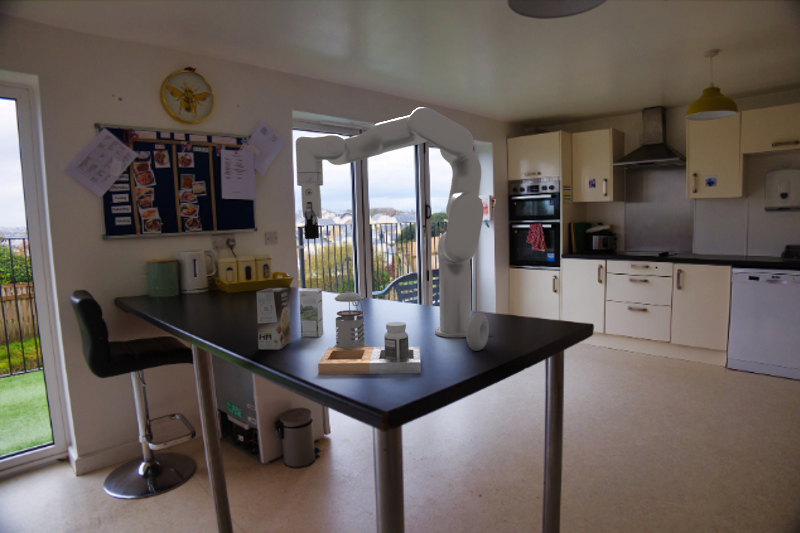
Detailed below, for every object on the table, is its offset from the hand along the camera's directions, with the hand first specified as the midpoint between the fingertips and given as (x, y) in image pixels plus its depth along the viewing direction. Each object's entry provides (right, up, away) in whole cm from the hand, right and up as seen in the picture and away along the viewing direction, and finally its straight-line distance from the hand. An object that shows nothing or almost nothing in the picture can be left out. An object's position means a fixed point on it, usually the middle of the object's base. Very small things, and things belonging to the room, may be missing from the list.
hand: (312, 238), depth 140 cm
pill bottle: (+25, -32, -27) cm, 49 cm away
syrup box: (-1, -30, +6) cm, 30 cm away
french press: (+13, -31, -9) cm, 34 cm away
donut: (+47, -31, -16) cm, 58 cm away
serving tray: (+19, -32, -27) cm, 46 cm away
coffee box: (-9, -31, -6) cm, 33 cm away
